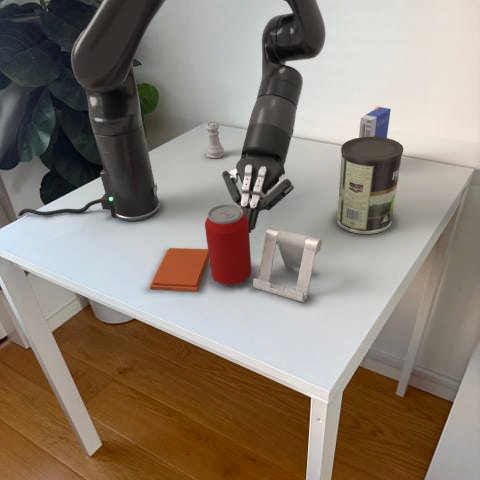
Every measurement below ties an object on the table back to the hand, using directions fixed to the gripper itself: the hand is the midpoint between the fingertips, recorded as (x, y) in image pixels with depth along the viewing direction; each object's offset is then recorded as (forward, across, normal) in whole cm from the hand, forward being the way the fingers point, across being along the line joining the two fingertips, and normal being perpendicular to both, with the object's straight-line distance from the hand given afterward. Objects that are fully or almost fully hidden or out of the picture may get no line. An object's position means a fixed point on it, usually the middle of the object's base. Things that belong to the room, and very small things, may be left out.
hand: (244, 231), depth 81 cm
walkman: (-26, +12, +34) cm, 44 cm away
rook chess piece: (-23, -26, +31) cm, 46 cm away
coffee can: (-9, +16, +17) cm, 25 cm away
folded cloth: (+9, -9, -1) cm, 13 cm away
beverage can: (+8, 0, 0) cm, 8 cm away
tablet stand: (+7, +10, +1) cm, 12 cm away
